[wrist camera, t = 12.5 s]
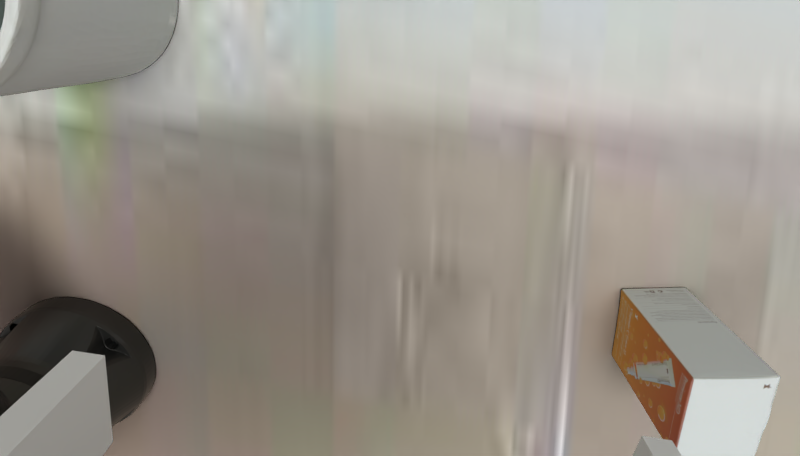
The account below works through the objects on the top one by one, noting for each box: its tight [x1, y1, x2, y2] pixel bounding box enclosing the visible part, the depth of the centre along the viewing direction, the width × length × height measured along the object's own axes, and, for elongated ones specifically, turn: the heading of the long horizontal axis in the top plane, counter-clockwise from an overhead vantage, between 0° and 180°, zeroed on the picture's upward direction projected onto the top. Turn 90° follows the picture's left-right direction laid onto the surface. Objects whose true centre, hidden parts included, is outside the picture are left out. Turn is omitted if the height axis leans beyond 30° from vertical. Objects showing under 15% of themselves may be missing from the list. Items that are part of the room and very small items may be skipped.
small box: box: [612, 287, 781, 456], centre depth 41 cm, size 8×6×13 cm
